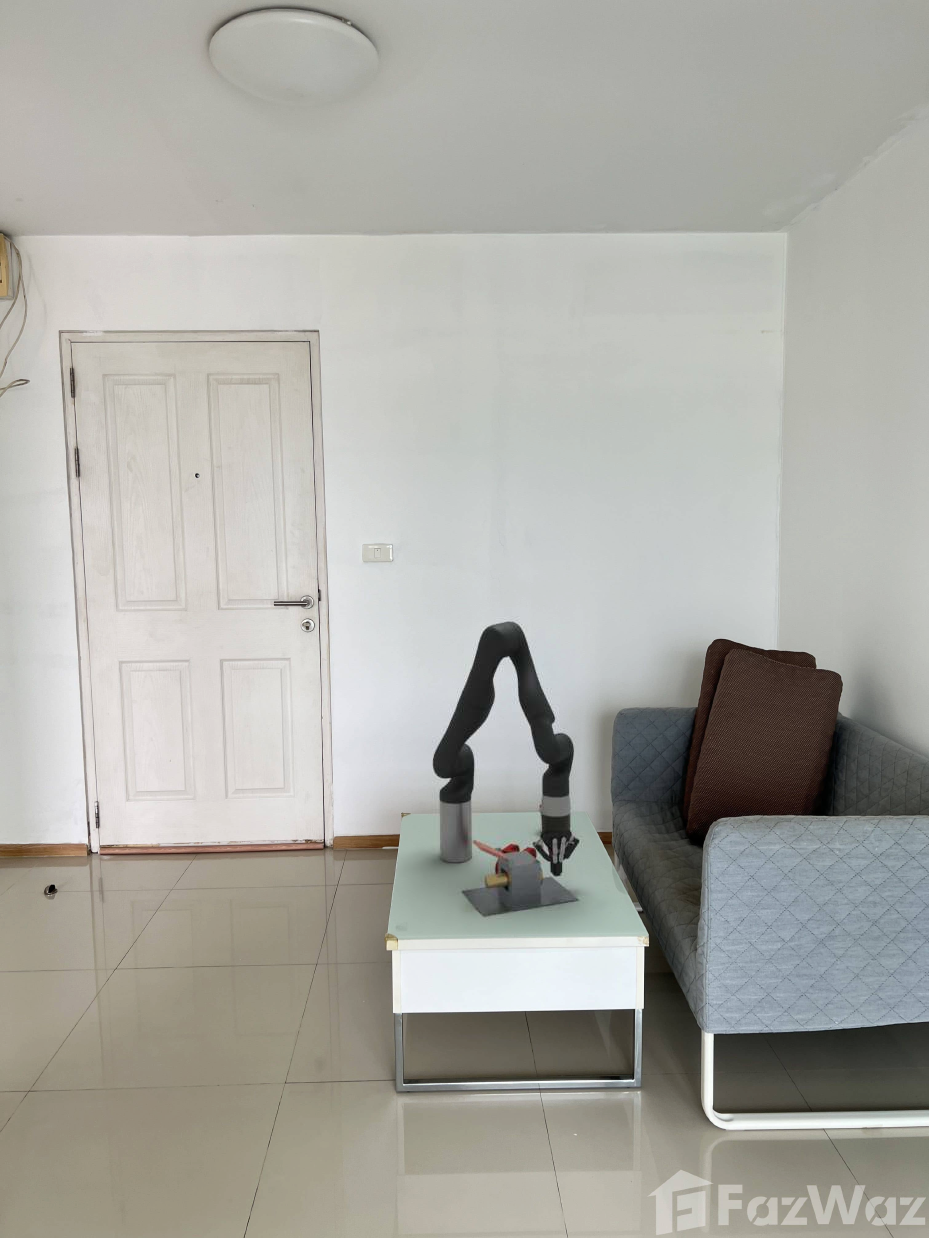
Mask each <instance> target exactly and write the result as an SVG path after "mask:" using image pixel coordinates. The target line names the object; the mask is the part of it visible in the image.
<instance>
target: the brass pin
mask: <svg viewBox="0 0 929 1238" xmlns="http://www.w3.org/2000/svg"><path fill="white" fill-rule="evenodd" d="M543 878H544V874H543V869H542V868H541V885H542V883H543ZM484 886H485V887H486V888H487V889H490V888H496V887H503V886H509V876H508V873H501V874H496V873H495V874H490V875H489V874H488V875H485V876H484Z"/></svg>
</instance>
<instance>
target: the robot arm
mask: <svg viewBox="0 0 929 1238" xmlns="http://www.w3.org/2000/svg"><path fill="white" fill-rule="evenodd" d="M530 651H531V650H530V646H529V644H528V640H527V638H526V635H525V633H524V630H523V629H522V627H521V626H520V624H518V623H516V622H515V621H510V620H509V621H503V622H500V623H494V624H491V625H489V626H487V627H486V628H485V629H484V630H483V631H482V633H481V635H480V637H479V641H478V644H477V649H476V651H475V656H474V658H473V659H474V660H473V662H472V667H471V668H470V670H469V673H468V677H467V679H466V682H465V684H464V687H463V689H462V691H461V694H460V695H459V698H458V701H457V704H456V707H455V710H454V711H453V714H452V716H451V718H450V721H449V724H448V726H447V728H446V730H445V733H444V734H443V736H442V738H441V740H440V742H439V744H438V746H436V749H435V751H434V753H433V758H432V769H433V771H434V772H433V773H434V774H435V775H436V776H437V777H438V778H440V779H445V780H447V779H449V780H448V782H447V783H446V784H445V785H444V786H442V787H441V788H440V789H439V794H438V795H439V796H438V797H439V842H440V843H439V848H440V849H439V851H440V852H439V853H440V855H439V857H440V859H441V860H442V861H445V862H448V863H463V862H467V861H470V860H471V859H472V857H473V837H472V836H473V831H472V830H473V828H472V824H473V823H472V822H473V821H472V812H473V811H472V793H473V791H474V787H475V786H474V785H475V765H476V764H475V755H474V751H473V749H472V747H470V746H469V744H467V741H469V739H470V738H471V737H472V736H473V735H474V734H475V733H476V732H477V731H478V730H479V729H480V728H481V727H482V726H483V724H484V723H485V722H486V720H487V719H488V717H489V715H490V712H491V710H492V708H493V705H494V703H495V700H496V691H495V683H494V677H495V675H496V672H497V670H498V667H499V665H500V663H501V662H502V660H503V659H504V658H505V659H506V658H508V657H509V659H510V661H511V662H512V665H513V668H514V669H515V672H516V677H517V693H518V694H517V696H518V702H519V705H520V708H521V710H522V712H523V714H524V717H525V718H526V720H527V723H528V725H529V727H530V732H531V736H532V737H531V738H532V743H533V747H534V750H535V752H536V754H537V756H538V758H539V759H540V760H541V761H542V762H543V763H545V764H546V765H548V767H547V769H546V770H545V772H544V773H543V774H542V779H541V786H542V787H541V791H542V792H541V793H542V794H541V803H540V804H541V814H540V819H541V818H542V821H541V833H540V835H539V836H540V837H539V839H538V840H537V841H533V842H532V847H533V848H535V849H536V852H538V854H539V855H540V856H541V857H542V858H543V859H544V860H546V861H547V862H548V863H549V862H550V863H549V865H550V868H549V869H550V873H551V874H552V876H554V877H561V875H562V874H563V862H564V860H565V861H566V860H568V859H570V857H571V855H572V854H573V852H574V851H575V850H576V848H577V846H578V845H579V843H580V839H579V838H578V837H576V836H574V835H572V834H573V833H572V831H571V808H572V807H571V798H570V776H571V771H572V766H573V762H574V761H573V760H574V756H575V746H574V743H573V740H572V738H571V737H570V735H568V734H566V733H565V732H564V733H563V732H558V733H555V732H554V729H553V724H555V721H556V716H555V713H554V711H553V709H552V707H551V705H550V702H549V701H548V699H547V697H546V694H545V692H544V690H543V687H542V685H541V682H540V680H539V677H538V674H537V670H536V667H535V664H534V661H533V657H532V655H531V652H530ZM544 845H545V847H547V852H548V853H547V852H546V850H544V848H545V847H544Z"/></svg>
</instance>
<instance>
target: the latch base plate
mask: <svg viewBox="0 0 929 1238" xmlns="http://www.w3.org/2000/svg"><path fill="white" fill-rule="evenodd" d="M494 849H496V850H498V851H501V850H502V847H495V848H494ZM505 855H506V856H507V857H508V858H509V859H508V862H506V861H504V860H501V859H499V858H497V860H498V874H501V873H508V876H509V886H503V887H496V888H490V889H487V888H486V886H483V887H476V888H470V889H465V890H461V893H462V894H463V895H464V897H466V898H467V900H468V901H469V903H471V904H472V906H473V907H474V908H475V909H476V910H477V911H478V912H479V913H480V914H481V915H482V916H483V917H487V916H489V917H490V916H494V915H500V914H506V913H512V912H517V911H518V912H519V911H523V910H524V911H525V910H528V909H529V910H530V909H536V908H541V907H547V906H553V905H560V904H564V903H571V902H576V901H580V899H579V898H578V897H577V896H575V894H573V893H572V892H570V890H568V889H567V888H566V887H564V885H562V884H561V883H560V882H558V881H557V880H556V879H555V878H554V877H553V876H548V877H547V876H546V877H543V883H542V885H541V869H542V867H541V861H539V860H538V859H537V857H536V858H535V857H533V856H532V855H531V854H530V853H528V852H527V851H523V850H520V852H513V853H506V854H505Z"/></svg>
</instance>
